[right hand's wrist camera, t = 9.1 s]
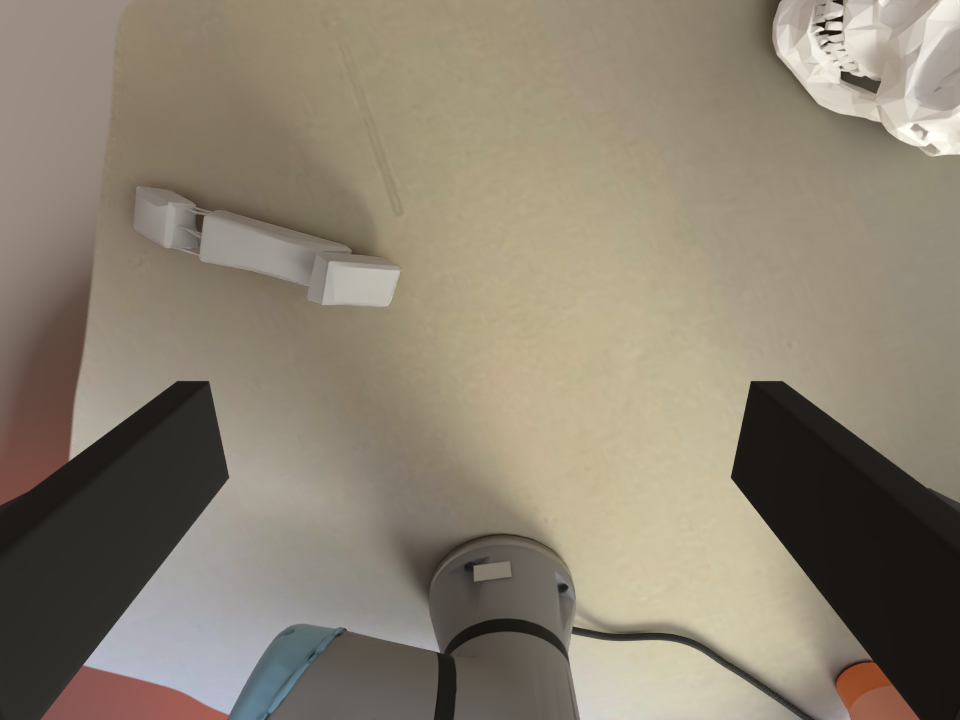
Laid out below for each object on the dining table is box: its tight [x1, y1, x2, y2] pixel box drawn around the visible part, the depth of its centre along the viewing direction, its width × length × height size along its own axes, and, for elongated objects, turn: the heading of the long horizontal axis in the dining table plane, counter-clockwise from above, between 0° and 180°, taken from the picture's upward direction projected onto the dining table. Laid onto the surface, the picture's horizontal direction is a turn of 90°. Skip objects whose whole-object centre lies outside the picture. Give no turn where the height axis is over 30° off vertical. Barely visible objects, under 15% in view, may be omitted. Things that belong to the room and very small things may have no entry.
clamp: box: [133, 186, 401, 307], centre depth 39 cm, size 20×4×7 cm, turn 73°
